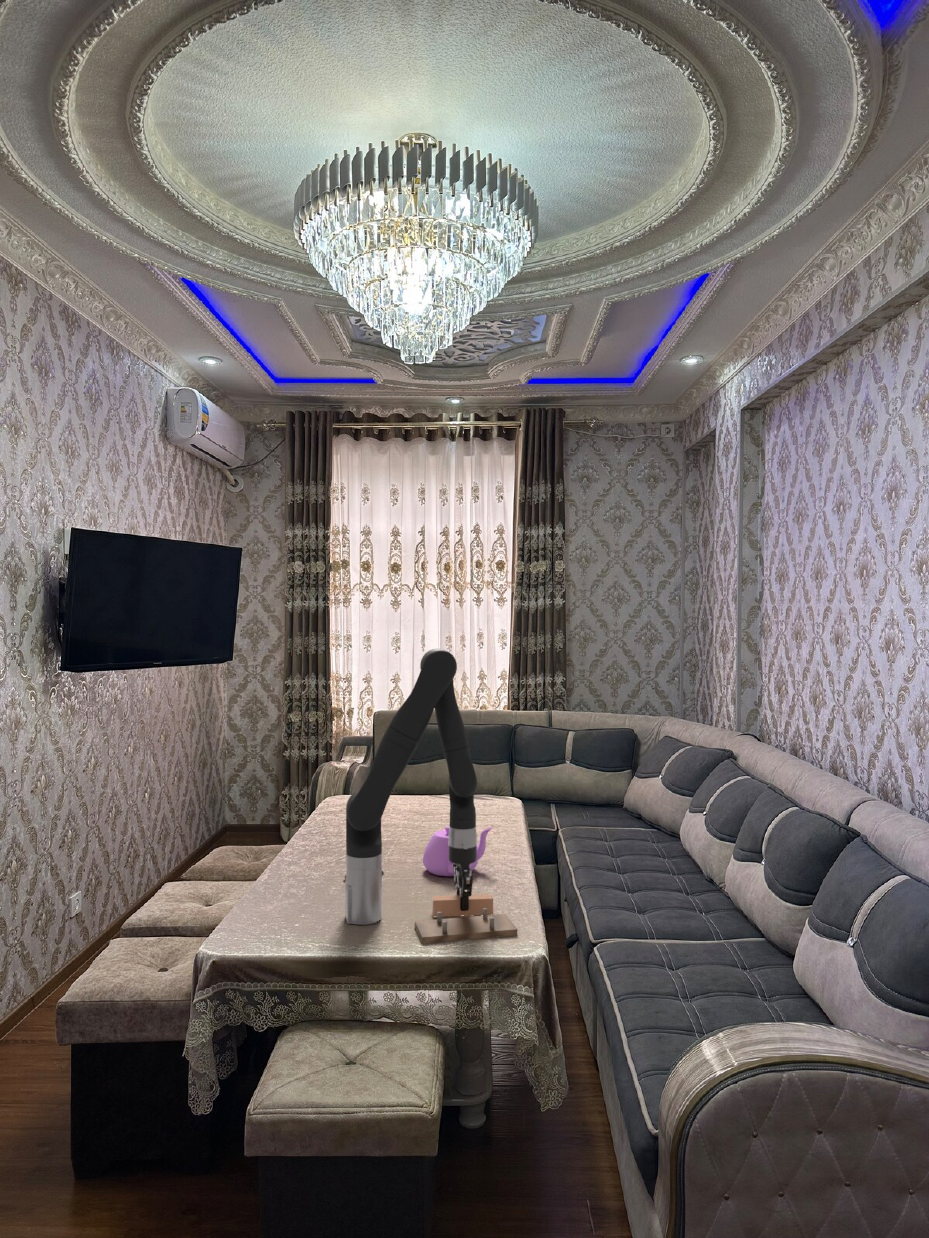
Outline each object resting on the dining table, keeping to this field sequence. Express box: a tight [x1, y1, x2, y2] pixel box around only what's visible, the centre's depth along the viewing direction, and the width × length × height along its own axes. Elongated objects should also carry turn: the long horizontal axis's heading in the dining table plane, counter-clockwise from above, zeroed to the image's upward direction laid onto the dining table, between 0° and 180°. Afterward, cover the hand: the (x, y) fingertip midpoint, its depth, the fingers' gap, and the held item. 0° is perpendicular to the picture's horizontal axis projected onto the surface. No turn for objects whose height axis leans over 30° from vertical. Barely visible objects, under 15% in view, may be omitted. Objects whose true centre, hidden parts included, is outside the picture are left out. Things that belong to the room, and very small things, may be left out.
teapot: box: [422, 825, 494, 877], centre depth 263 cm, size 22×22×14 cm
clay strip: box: [431, 893, 494, 918], centre depth 225 cm, size 16×4×4 cm, turn 96°
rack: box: [414, 908, 518, 944], centre depth 213 cm, size 24×11×4 cm, turn 103°
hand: (462, 907), depth 225 cm, fingers closed on clay strip, 3 cm apart
